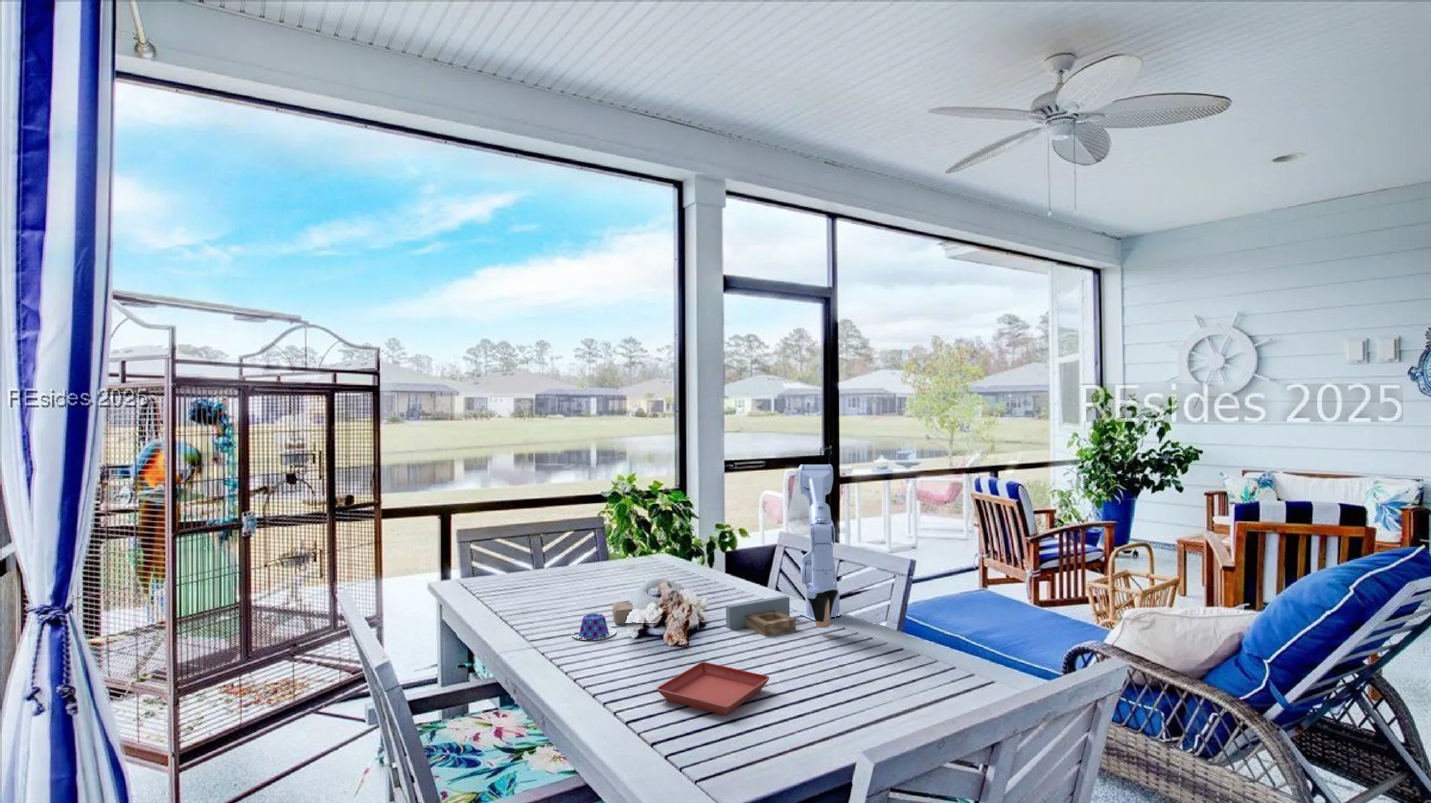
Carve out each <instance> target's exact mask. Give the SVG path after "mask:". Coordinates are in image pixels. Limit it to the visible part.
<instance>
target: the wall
mask: <svg viewBox="0 0 1431 803" xmlns="http://www.w3.org/2000/svg"><path fill="white" fill-rule="evenodd" d="M790 600H791V599H790V596H788V595H782V596H775V597H774V596H773V597H768V598H763V599H758V600H750V601H746V602H739V603H733V604H732V603H731V604H727V605H725V607H726V608H725V621H726V624H725V625H726V628H727V629H729V630H730V629H731V630H732V629H737V628H741V627H746V626H745V615H751V614H757V613H762V612H768V611H774V610H776V611H778V612H780V613H783V614H785V615H787V616H790V615H791V614H790V612H791V611H790V609H791V606H790ZM790 617H791V616H790Z"/></svg>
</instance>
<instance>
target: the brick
mask: <svg viewBox="0 0 1431 803" xmlns="http://www.w3.org/2000/svg"><path fill="white" fill-rule="evenodd" d="M632 603H633V602H628V601H625V602H624V601H616V602H613V603H612V605H613V606H612V617H613V622H614V623H615V624H617V625H625V624H624V623H625V622H626V620H627V616H628V615H629V612H631V611H632V609H633V605H632Z"/></svg>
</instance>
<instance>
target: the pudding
mask: <svg viewBox="0 0 1431 803" xmlns="http://www.w3.org/2000/svg"><path fill="white" fill-rule="evenodd" d="M579 629H580V632H579V634H578V637H579V636H581V637H580V638H582V639H581V640H583V641H587V640H586V639H584V638H591V639H593V640H592V641H596V640H599V638H598V637H603V638H601V639H600V640H603V639H607V638H609V637H612V636H614V635H615V634H616V633H617V630H616V629H615V628H614V627H611V626H608V625H607V621H606V617H605V615H603V614H602V613H589V614H586V615H584V616H583V618H582V620H581V624H580V627H579V628H577V629H575V630H573V631H572V632H571V636H572V637H573V638H575V639H578V640H580V639H579V638H576V637H575V636H573V635H572V634H574V632H578V630H579ZM608 629H610V631H608ZM611 629H612V630H611ZM609 632H613V633H611V634H612V635H610V636H608V635H606V634H610V633H609ZM605 636H606V638H604V637H605ZM583 637H584V638H583ZM596 638H598V639H596Z"/></svg>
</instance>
